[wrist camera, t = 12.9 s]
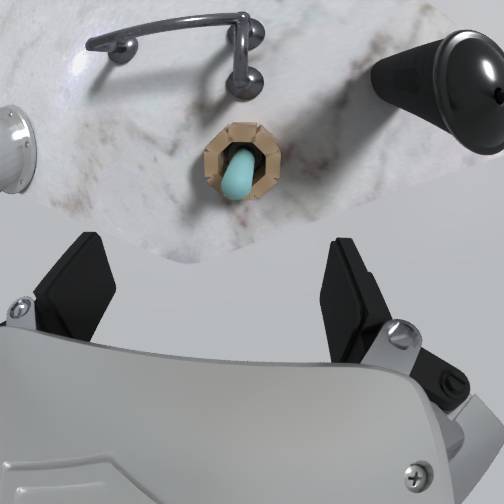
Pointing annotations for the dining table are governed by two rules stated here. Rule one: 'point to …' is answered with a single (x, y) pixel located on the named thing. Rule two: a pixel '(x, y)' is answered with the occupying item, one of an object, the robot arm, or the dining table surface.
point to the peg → (240, 169)
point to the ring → (244, 133)
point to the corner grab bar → (240, 32)
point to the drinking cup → (450, 87)
